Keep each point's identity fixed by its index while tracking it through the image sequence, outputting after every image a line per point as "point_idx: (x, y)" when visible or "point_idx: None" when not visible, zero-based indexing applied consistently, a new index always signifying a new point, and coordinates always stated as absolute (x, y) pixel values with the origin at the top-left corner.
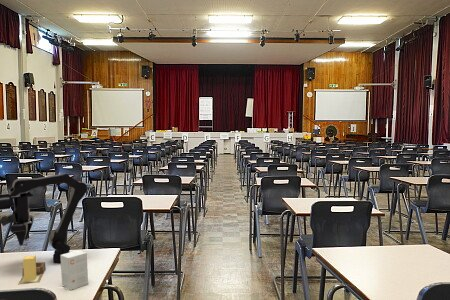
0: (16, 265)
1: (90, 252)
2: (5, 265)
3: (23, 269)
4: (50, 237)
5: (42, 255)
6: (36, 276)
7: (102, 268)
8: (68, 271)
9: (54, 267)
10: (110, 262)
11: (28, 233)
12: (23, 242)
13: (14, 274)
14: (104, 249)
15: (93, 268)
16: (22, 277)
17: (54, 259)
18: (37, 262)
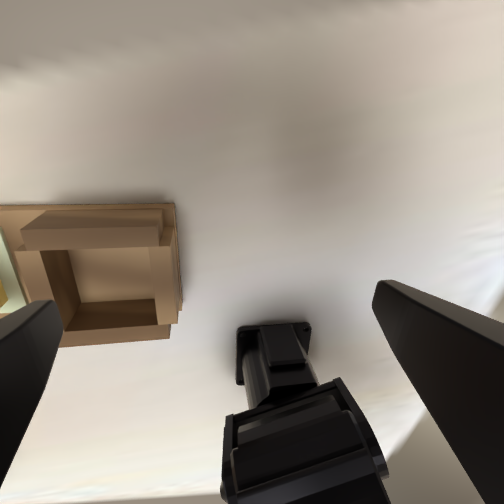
0: (354, 104)
1: (375, 417)
2: (398, 7)
3: (24, 234)
4: (319, 487)
5: (467, 234)
6: (4, 301)
7: (145, 484)
8: None
9: (219, 330)
10: (211, 490)
11: (422, 399)
12: (46, 373)
13: (151, 129)
14: (385, 449)
15: (154, 462)
16: (13, 214)
17: (263, 347)
18: (171, 297)
